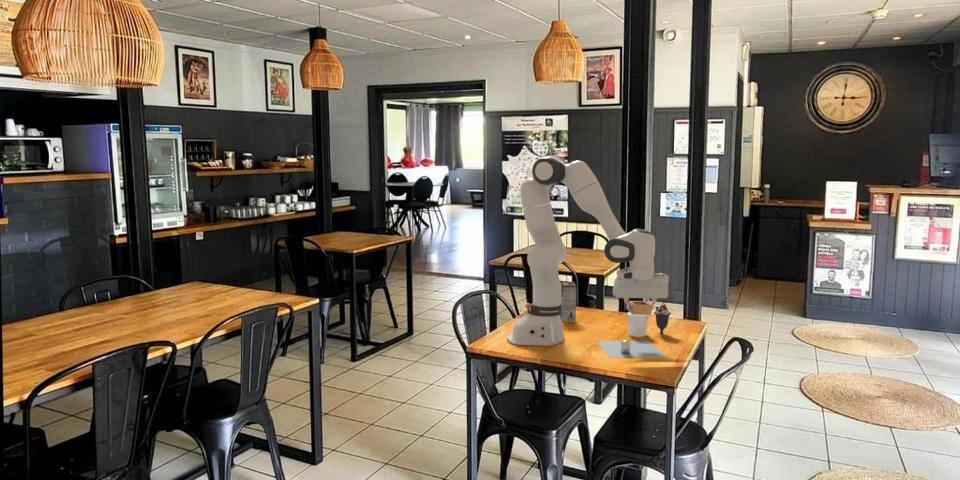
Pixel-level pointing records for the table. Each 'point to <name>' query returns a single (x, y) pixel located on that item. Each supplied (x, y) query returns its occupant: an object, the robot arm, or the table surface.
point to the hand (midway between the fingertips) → (639, 309)
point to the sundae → (662, 317)
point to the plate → (635, 349)
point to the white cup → (636, 324)
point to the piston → (625, 346)
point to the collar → (640, 307)
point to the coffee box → (568, 301)
